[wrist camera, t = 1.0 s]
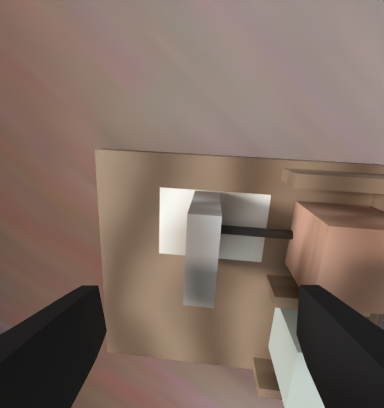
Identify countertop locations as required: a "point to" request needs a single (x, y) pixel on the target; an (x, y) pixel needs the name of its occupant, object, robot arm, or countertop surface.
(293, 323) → the block
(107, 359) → the countertop surface
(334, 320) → the robot arm
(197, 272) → the tethered block
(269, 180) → the lane rack
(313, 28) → the countertop surface
